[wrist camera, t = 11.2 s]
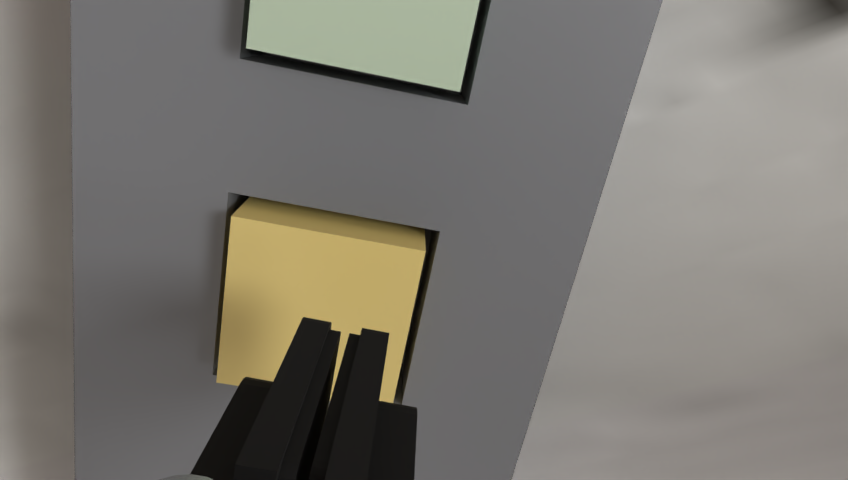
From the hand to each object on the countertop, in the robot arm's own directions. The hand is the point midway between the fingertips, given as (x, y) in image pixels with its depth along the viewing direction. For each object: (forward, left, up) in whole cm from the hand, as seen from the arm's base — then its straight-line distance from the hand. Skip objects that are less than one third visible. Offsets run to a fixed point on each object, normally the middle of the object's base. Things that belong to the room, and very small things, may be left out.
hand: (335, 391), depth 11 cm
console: (+1, 0, -8) cm, 8 cm away
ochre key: (+1, 0, -5) cm, 5 cm away
